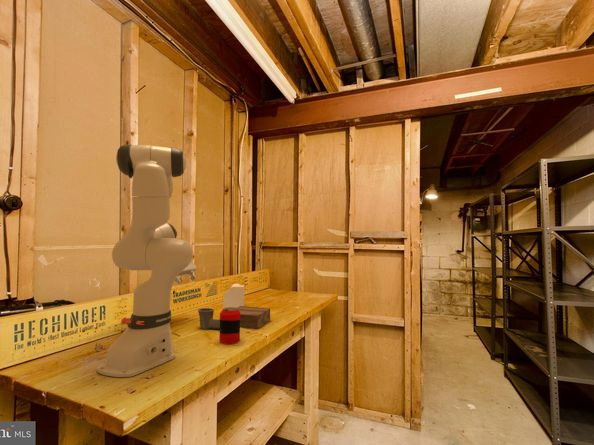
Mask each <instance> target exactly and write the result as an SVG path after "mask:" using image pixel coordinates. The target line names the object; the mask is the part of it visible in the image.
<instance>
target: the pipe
mask: <svg viewBox="0 0 594 445" xmlns="http://www.w3.org/2000/svg"><path fill="white" fill-rule="evenodd" d="M197 312H198V315H199V327H200V329H203V330H207V329H213V330H215V329H216V330H220V318H219V319H218V318H217V319H214V312H215V309H214V308H211V307H210V308H209V307H203V308H202V307H201V308H198V309H197Z"/></svg>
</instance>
